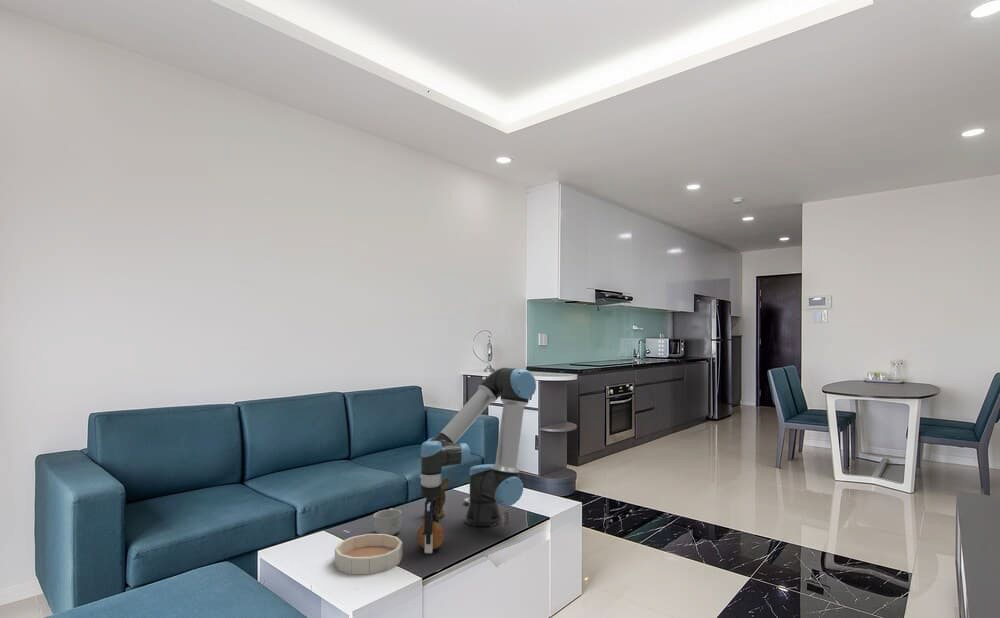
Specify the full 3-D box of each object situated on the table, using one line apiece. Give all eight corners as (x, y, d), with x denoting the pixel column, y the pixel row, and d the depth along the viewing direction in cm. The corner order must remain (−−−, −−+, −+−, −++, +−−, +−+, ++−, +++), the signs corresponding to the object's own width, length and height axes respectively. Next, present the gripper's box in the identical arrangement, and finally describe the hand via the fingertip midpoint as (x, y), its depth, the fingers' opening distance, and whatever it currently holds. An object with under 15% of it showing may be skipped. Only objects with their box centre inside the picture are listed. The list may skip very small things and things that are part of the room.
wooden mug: (440, 523, 220) (440, 479, 221) (419, 516, 229) (419, 474, 230) (455, 517, 227) (456, 475, 228) (434, 511, 236) (434, 470, 237)
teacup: (394, 539, 202) (395, 518, 203) (368, 537, 204) (368, 516, 205) (408, 527, 216) (408, 507, 216) (383, 525, 218) (383, 505, 218)
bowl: (406, 547, 194) (406, 533, 194) (394, 574, 172) (394, 558, 172) (346, 547, 194) (346, 533, 194) (326, 574, 172) (326, 558, 172)
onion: (444, 543, 198) (444, 516, 199) (443, 554, 188) (443, 525, 189) (418, 544, 198) (418, 516, 198) (415, 554, 188) (416, 525, 188)
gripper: (425, 476, 206) (425, 535, 204) (415, 493, 183) (415, 559, 182) (444, 476, 206) (444, 535, 204) (437, 493, 183) (437, 559, 182)
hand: (430, 546), depth 193 cm, fingers closed on onion, 10 cm apart
